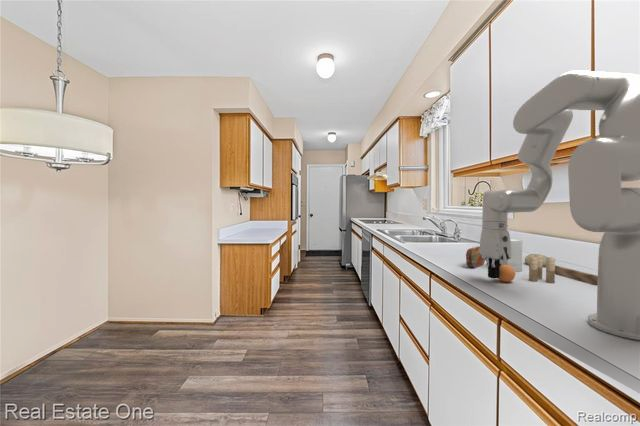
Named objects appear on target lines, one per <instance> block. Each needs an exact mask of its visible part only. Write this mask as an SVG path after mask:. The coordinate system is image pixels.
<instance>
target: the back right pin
mask: <svg viewBox="0 0 640 426" xmlns="http://www.w3.org/2000/svg"><path fill="white" fill-rule="evenodd" d="M546 257H547V256H546ZM555 265H556V258H555V257H547V258H546V267H545V282H546V283H548V284H554V283H555V281H556V279H555V278H556V277H555V275H556V274H555Z"/></svg>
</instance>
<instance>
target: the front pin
mask: <svg viewBox="0 0 640 426" xmlns="http://www.w3.org/2000/svg"><path fill="white" fill-rule="evenodd" d="M528 266H529V267H528V281H529V282H538V279H537V266H538V257H529V265H528Z"/></svg>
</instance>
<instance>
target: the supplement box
mask: <svg viewBox="0 0 640 426" xmlns="http://www.w3.org/2000/svg"><path fill="white" fill-rule="evenodd" d="M510 240H511V259H507V264H502V265H509V266H511V267H512V268H513V269H514V271H515V273H516V272H518V273H519V272H523V240H520V239H513V238H510Z"/></svg>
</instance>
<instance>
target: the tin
mask: <svg viewBox="0 0 640 426" xmlns="http://www.w3.org/2000/svg"><path fill="white" fill-rule="evenodd" d="M465 257H466V258H465V259H466V260H465V261H466V265H467V267H468V268H471V269H477V268H479V267H481V266H483V265H484V264H485V262H486V260H485V259H483V258H482V255H481V254H480V246H474V247H470V248H468V249H467V250H466V253H465Z"/></svg>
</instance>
